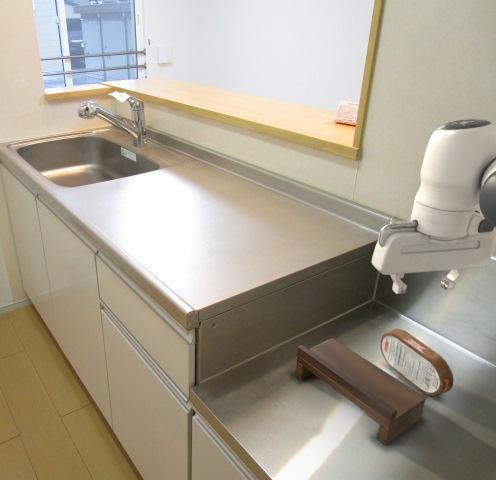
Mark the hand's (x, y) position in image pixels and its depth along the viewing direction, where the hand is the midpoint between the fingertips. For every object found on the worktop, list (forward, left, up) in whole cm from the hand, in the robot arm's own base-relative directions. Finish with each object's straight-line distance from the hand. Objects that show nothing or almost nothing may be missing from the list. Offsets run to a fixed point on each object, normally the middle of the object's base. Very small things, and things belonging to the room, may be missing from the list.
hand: (422, 290), depth 81 cm
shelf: (+12, +4, -19) cm, 23 cm away
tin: (-1, +1, -20) cm, 20 cm away
